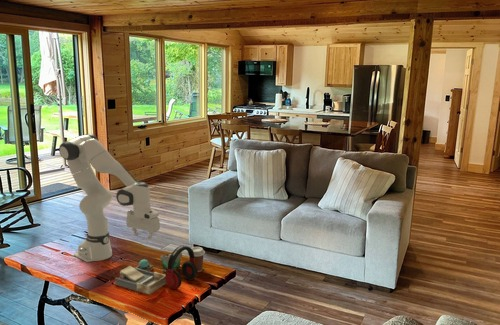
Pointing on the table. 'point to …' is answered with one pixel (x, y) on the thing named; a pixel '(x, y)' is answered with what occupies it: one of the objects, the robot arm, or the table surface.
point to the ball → (143, 264)
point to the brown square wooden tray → (146, 268)
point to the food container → (166, 259)
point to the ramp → (131, 273)
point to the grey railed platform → (133, 285)
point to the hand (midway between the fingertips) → (143, 236)
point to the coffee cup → (198, 257)
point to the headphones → (187, 268)
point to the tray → (152, 284)
